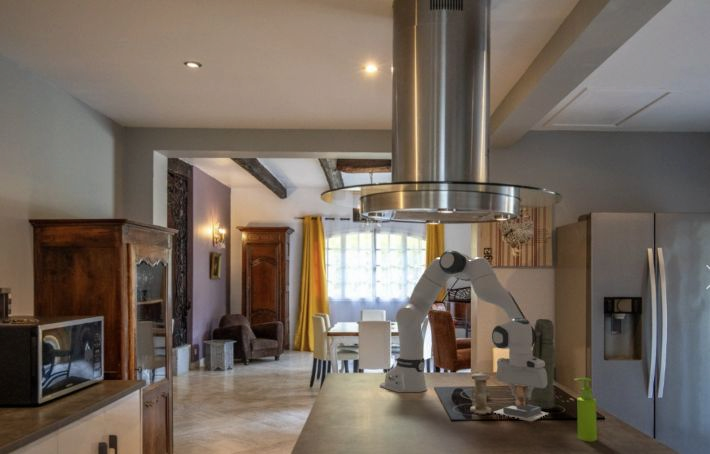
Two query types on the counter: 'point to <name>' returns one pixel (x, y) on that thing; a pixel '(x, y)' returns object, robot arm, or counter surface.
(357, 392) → the counter surface
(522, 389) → the copper plug
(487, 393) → the push button
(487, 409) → the wooden spool
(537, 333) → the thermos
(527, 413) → the terminal board
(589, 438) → the soap dispenser
